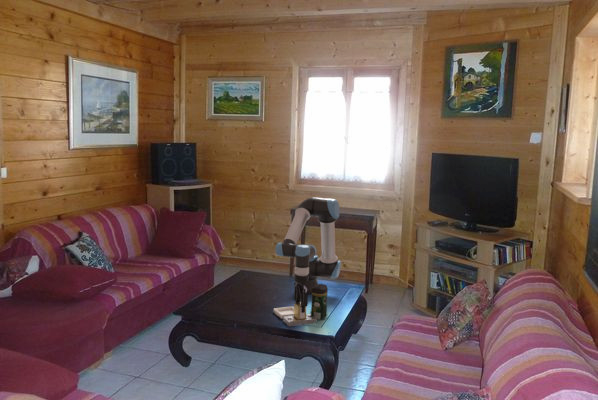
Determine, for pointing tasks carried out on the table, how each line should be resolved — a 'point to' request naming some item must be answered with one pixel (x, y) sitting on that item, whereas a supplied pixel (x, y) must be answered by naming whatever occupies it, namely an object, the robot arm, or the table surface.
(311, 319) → the rail
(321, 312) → the coffee jar
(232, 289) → the table surface
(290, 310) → the tray
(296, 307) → the block
